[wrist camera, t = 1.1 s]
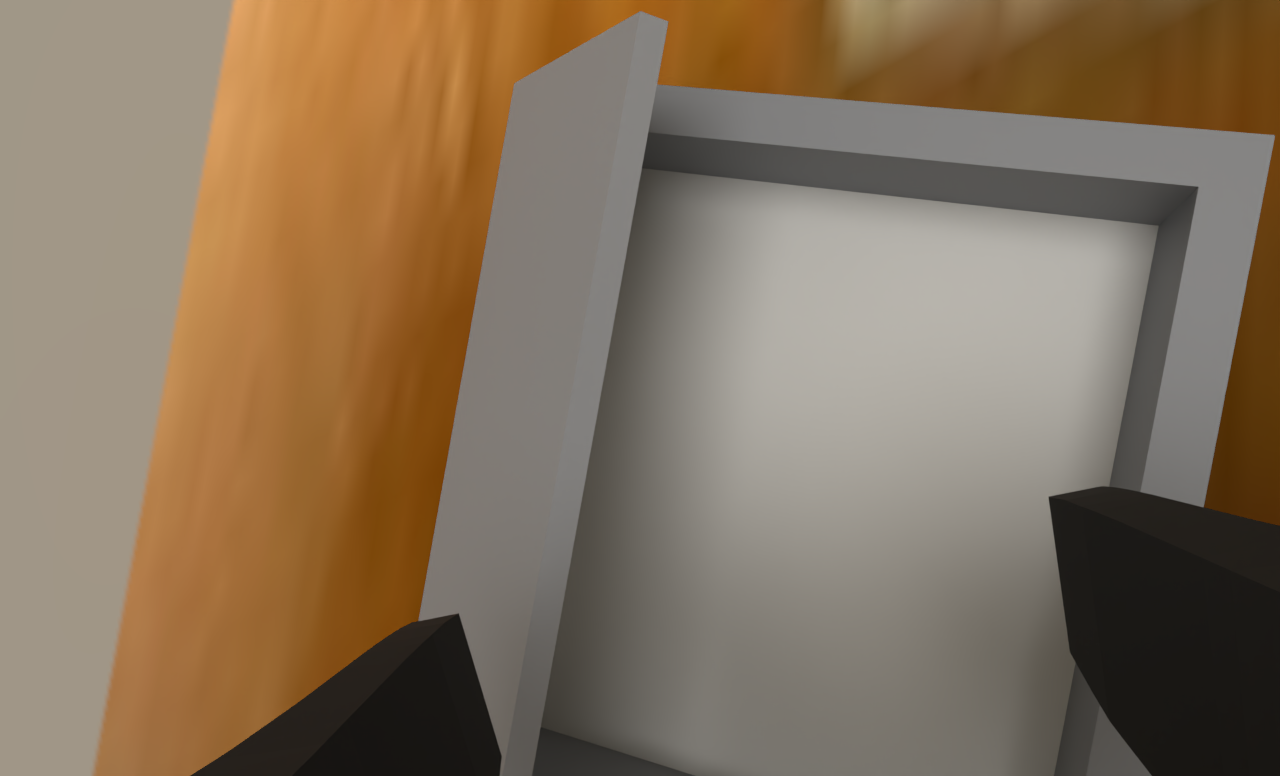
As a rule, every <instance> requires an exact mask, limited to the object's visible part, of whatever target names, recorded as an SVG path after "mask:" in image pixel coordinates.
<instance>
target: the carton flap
mask: <svg viewBox="0 0 1280 776" xmlns="http://www.w3.org/2000/svg"><path fill="white" fill-rule="evenodd" d="M667 26H668V21H665V20H663V19H660V18H657V17H655V16H652V15H649V14H647V13H644V12H641V11H640V12H638V13H636V14H635V15H633V16H631V17H629V18H628V19H626V20H624V21H622V22H621V23H619V24H617V25H615V26H614V27H612V28H610V29H608V30H607V31H605V32H603V33H602V34H600V35H598V36H596V37H595V38H593V39H591V40H589V41H588V42H586V43H584V44H582V45H581V46H579V47H577V48H575V49H574V50H572V51H570V52H568V53H567V54H565V55H563V56H561V57H560V58H558V59H556V60H554V61H553V62H551V63H549V64H547V65H546V66H544V67H542V68H540V69H539V70H537V71H535V72H533V73H532V74H530V75H528V76H526V77H525V78H523V79H521V80H519V81H518V82H516V83H514V89H513V94H512V100H511V106H510V111H509V117H508V122H507V128H506V134H505V139H504V145H503V150H502V156H501V162H500V167H499V173H498V178H497V184H496V190H495V195H494V201H493V207H492V212H491V218H490V223H489V229H488V235H487V240H486V246H485V251H484V257H483V263H482V268H481V274H480V279H479V285H478V291H477V296H476V302H475V307H474V313H473V319H472V324H471V330H470V335H469V341H468V347H467V352H466V358H465V363H464V369H463V375H462V380H461V386H460V391H459V397H458V403H457V408H456V414H455V419H454V425H453V431H452V436H451V442H450V447H449V453H448V459H447V464H446V470H445V475H444V481H443V487H442V492H441V498H440V504H439V509H438V515H437V520H436V526H435V532H434V537H433V543H432V548H431V554H430V560H429V565H428V571H427V576H426V582H425V588H424V593H423V599H422V604H421V610H420V616H419V621H422V620H428V619H433V618H438V617H443V616H448V615H453V614H458V613H459V616H460V619H461V622H462V626H463V629H464V632H465V636H466V639H467V642H468V646H469V649H470V652H471V656H472V659H473V662H474V665H475V669H476V672H477V675H478V679H479V682H480V685H481V689H482V692H483V695H484V699H485V702H486V705H487V709H488V712H489V715H490V719H491V722H492V725H493V729H494V732H495V735H496V739H497V742H498V745H499V749H500V752H501V755H502V759H501V768H500V776H532V772H533V766H534V761H535V755H536V750H537V744H538V739H539V733H540V728H541V722H542V717H543V711H544V706H545V700H546V695H547V689H548V684H549V678H550V673H551V667H552V662H553V656H554V650H555V645H556V639H557V634H558V628H559V623H560V617H561V612H562V606H563V601H564V595H565V590H566V584H567V579H568V573H569V568H570V562H571V557H572V551H573V545H574V540H575V534H576V529H577V523H578V518H579V512H580V507H581V501H582V496H583V490H584V485H585V479H586V474H587V468H588V463H589V457H590V452H591V446H592V441H593V435H594V429H595V424H596V418H597V413H598V407H599V402H600V396H601V391H602V385H603V380H604V374H605V369H606V363H607V358H608V352H609V347H610V341H611V336H612V330H613V324H614V319H615V313H616V308H617V302H618V297H619V291H620V286H621V280H622V275H623V269H624V264H625V258H626V253H627V247H628V242H629V236H630V231H631V225H632V220H633V214H634V208H635V203H636V197H637V192H638V186H639V181H640V175H641V170H642V164H643V159H644V153H645V148H646V142H647V137H648V131H649V126H650V120H651V115H652V109H653V103H654V98H655V92H656V87H657V81H658V76H659V70H660V65H661V59H662V54H663V48H664V43H665V37H666V32H667Z"/></svg>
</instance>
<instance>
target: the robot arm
mask: <svg viewBox="0 0 1280 776" xmlns="http://www.w3.org/2000/svg"><path fill="white" fill-rule="evenodd" d="M1049 505H1050V512H1051V519H1052V526H1053V534H1054V541H1055V548H1056V555H1057V563H1058V570H1059V577H1060V584H1061V591H1062V599H1063V606H1064V613H1065V620H1066V628H1067V635H1068V642H1069V649H1070V653H1071V655H1072V657H1073V659H1074V660H1075V662H1076V664H1077V666H1078V668H1079V669H1080V671H1081V673H1082V675H1083V677H1084V678H1085V680H1086V682H1087V684H1088V686H1089V687H1090V689H1091V691H1092V693H1093V694H1094V696H1095V698H1096V699H1097V701H1098V703H1099V704H1100V706H1101V708H1102V709H1103V711H1104V713H1105V714H1106V716H1107V718H1108V719H1109V721H1110V722H1111V724H1112V725H1113V726H1114V728H1115V729H1116V730H1117V732H1118V733H1119V734H1120V736H1121V737H1122V738H1123V739H1124V741H1125V742H1126V743H1127V745H1128V746H1129V747H1130V748H1131V750H1132V751H1133V752H1134V754H1135V755H1136V756H1137V757H1138V759H1139V760H1140V761H1141V763H1142V764H1143V765H1144V766H1145V768H1146V769H1147V770H1148V772H1149V773H1150V774H1151V775H1152V776H1280V526H1278V525H1273V524H1269V523H1264V522H1260V521H1256V520H1252V519H1248V518H1244V517H1240V516H1236V515H1231V514H1227V513H1223V512H1219V511H1215V510H1212V509H1208V508H1204V507H1200V506H1196V505H1192V504H1188V503H1184V502H1180V501H1176V500H1172V499H1168V498H1164V497H1160V496H1156V495H1152V494H1147V493H1143V492H1138V491H1134V490H1128V489H1123V488H1117V487H1107V486H1100V487H1095V488H1090V489H1085V490H1080V491H1074V492H1069V493H1064V494H1059V495H1054V496H1049ZM501 759H502V755H501V752H500V749H499V745H498V742H497V739H496V735H495V732H494V729H493V725H492V722H491V719H490V715H489V712H488V709H487V705H486V702H485V699H484V695H483V692H482V689H481V685H480V682H479V679H478V675H477V672H476V669H475V665H474V662H473V659H472V656H471V652H470V649H469V646H468V642H467V639H466V636H465V632H464V629H463V626H462V622H461V619H460V616H459V613H458V614H453V615H448V616H443V617H438V618H433V619H428V620H422V621H417V622H412V623H410V624H408V625H406V626H404V627H402V628H400V629H399V630H397V631H395V632H394V633H392V634H391V635H389V636H388V637H386V638H385V639H383V640H382V641H380V642H379V643H377V644H376V645H375V646H373V647H372V648H371V649H369V650H368V651H366V652H365V653H364V654H362V655H361V656H360V657H358V658H357V659H356V660H354V661H353V662H352V663H350V664H349V665H348V666H346V667H345V668H344V669H342V670H341V671H340V672H338V673H337V674H336V675H334V676H333V677H332V678H330V679H329V680H328V681H326V682H325V683H324V684H322V685H321V686H320V687H318V688H317V689H316V690H314V691H313V692H312V693H310V694H309V695H308V696H306V697H305V698H304V699H302V700H301V701H300V702H298V703H297V704H296V705H294V706H293V707H291V708H290V709H288V710H287V711H286V712H284V713H283V714H281V715H280V716H279V717H277V718H276V719H274V720H273V721H271V722H270V723H269V724H267V725H266V726H264V727H263V728H261V729H260V730H259V731H257V732H256V733H254V734H253V735H251V736H250V737H249V738H247V739H246V740H244V741H243V742H242V743H240V744H239V745H237V746H236V747H234V748H233V749H231V750H230V751H228V752H227V753H225V754H224V755H222V756H221V757H219V758H218V759H216V760H215V761H213V762H211V763H210V764H208V765H207V766H205V767H204V768H202V769H200V770H199V771H197V772H196V773H194V774H192V775H191V776H500V768H501Z"/></svg>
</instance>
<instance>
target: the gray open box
mask: <svg viewBox="0 0 1280 776" xmlns="http://www.w3.org/2000/svg"><path fill="white" fill-rule="evenodd" d="M1274 138H1275V135H1265V134H1252V133H1240V132H1228V131H1216V130H1204V129H1192V128H1179V127H1167V126H1155V125H1143V124H1131V123H1118V122H1106V121H1094V120H1082V119H1070V118H1057V117H1045V116H1033V115H1021V114H1009V113H996V112H984V111H972V110H960V109H948V108H936V107H923V106H911V105H899V104H887V103H875V102H862V101H850V100H838V99H826V98H814V97H801V96H789V95H777V94H765V93H753V92H741V91H728V90H716V89H704V88H692V87H680V86H667V85H657V87H656V92H655V98H654V103H653V109H652V115H651V120H650V126H649V131H648V137H647V142H646V148H645V153H644V159H643V164H642V170H641V175H640V181H639V186H638V192H637V197H636V203H635V208H634V214H633V220H632V225H631V231H630V236H629V242H628V247H627V253H626V258H625V264H624V269H623V275H622V280H621V286H620V291H619V297H618V302H617V308H616V313H615V319H614V324H613V330H612V336H611V341H610V347H609V352H608V358H607V363H606V369H605V374H604V380H603V385H602V391H601V396H600V402H599V407H598V413H597V418H596V424H595V429H594V435H593V441H592V446H591V452H590V457H589V463H588V468H587V474H586V479H585V485H584V490H583V496H582V501H581V507H580V512H579V518H578V523H577V529H576V534H575V540H574V545H573V551H572V557H571V562H570V568H569V573H568V579H567V584H566V590H565V595H564V601H563V606H562V612H561V617H560V623H559V628H558V634H557V639H556V645H555V650H554V656H553V662H552V667H551V673H550V678H549V684H548V689H547V695H546V700H545V706H544V711H543V717H542V722H541V728H540V733H539V739H538V744H537V750H536V755H535V761H534V766H533V772H532V776H1152V775H1151V774H1150V773H1149V772H1148V770H1147V769H1146V768H1145V766H1144V765H1143V764H1142V763H1141V761H1140V760H1139V759H1138V757H1137V756H1136V755H1135V754H1134V752H1133V751H1132V750H1131V748H1130V747H1129V746H1128V745H1127V743H1126V742H1125V741H1124V739H1123V738H1122V737H1121V736H1120V734H1119V733H1118V732H1117V730H1116V729H1115V728H1114V726H1113V725H1112V724H1111V722H1110V721H1109V719H1108V718H1107V716H1106V714H1105V713H1104V711H1103V709H1102V708H1101V706H1100V704H1099V703H1098V701H1097V699H1096V698H1095V696H1094V694H1093V693H1092V691H1091V689H1090V687H1089V686H1088V684H1087V682H1086V680H1085V678H1084V677H1083V675H1082V673H1081V671H1080V669H1079V668H1078V666H1077V664H1076V662H1075V660H1074V659H1073V657H1072V655H1071V653H1070V649H1069V642H1068V635H1067V628H1066V620H1065V613H1064V606H1063V599H1062V591H1061V584H1060V577H1059V570H1058V563H1057V555H1056V548H1055V541H1054V534H1053V526H1052V519H1051V512H1050V505H1049V496H1054V495H1059V494H1064V493H1069V492H1074V491H1080V490H1085V489H1090V488H1095V487H1100V486H1107V487H1117V488H1123V489H1128V490H1134V491H1138V492H1143V493H1147V494H1152V495H1156V496H1160V497H1164V498H1168V499H1172V500H1176V501H1180V502H1184V503H1188V504H1192V505H1196V506H1200V507H1204V502H1205V497H1206V492H1207V487H1208V481H1209V476H1210V471H1211V466H1212V461H1213V455H1214V450H1215V445H1216V440H1217V435H1218V429H1219V424H1220V419H1221V414H1222V409H1223V403H1224V398H1225V393H1226V388H1227V383H1228V377H1229V372H1230V367H1231V362H1232V357H1233V351H1234V346H1235V341H1236V336H1237V331H1238V325H1239V320H1240V315H1241V310H1242V305H1243V299H1244V294H1245V289H1246V284H1247V279H1248V273H1249V268H1250V263H1251V258H1252V253H1253V247H1254V242H1255V237H1256V232H1257V227H1258V221H1259V216H1260V211H1261V206H1262V201H1263V195H1264V190H1265V185H1266V180H1267V175H1268V169H1269V164H1270V159H1271V154H1272V149H1273V143H1274Z"/></svg>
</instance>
